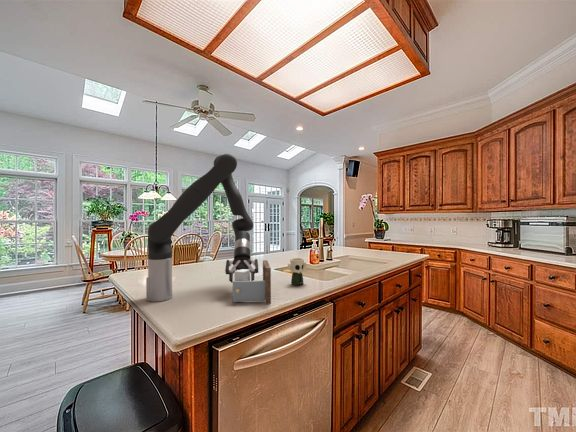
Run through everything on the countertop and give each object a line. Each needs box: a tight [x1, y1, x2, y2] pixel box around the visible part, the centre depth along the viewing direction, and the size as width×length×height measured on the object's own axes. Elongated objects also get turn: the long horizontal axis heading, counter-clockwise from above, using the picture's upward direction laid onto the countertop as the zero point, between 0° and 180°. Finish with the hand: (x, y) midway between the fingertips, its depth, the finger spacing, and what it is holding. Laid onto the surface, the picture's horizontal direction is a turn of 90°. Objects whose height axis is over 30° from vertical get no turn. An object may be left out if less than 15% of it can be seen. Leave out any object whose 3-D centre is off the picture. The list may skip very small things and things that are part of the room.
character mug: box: [287, 257, 307, 286], centre depth 132 cm, size 11×7×13 cm, turn 119°
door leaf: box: [232, 280, 266, 303], centre depth 104 cm, size 3×14×8 cm, turn 94°
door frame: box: [262, 259, 272, 305], centre depth 112 cm, size 2×19×14 cm, turn 9°
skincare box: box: [234, 269, 251, 281], centre depth 110 cm, size 6×4×12 cm
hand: (241, 281), depth 110 cm, fingers open, 8 cm apart
